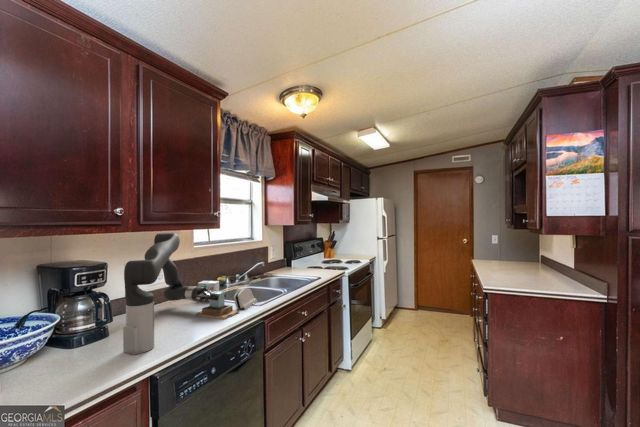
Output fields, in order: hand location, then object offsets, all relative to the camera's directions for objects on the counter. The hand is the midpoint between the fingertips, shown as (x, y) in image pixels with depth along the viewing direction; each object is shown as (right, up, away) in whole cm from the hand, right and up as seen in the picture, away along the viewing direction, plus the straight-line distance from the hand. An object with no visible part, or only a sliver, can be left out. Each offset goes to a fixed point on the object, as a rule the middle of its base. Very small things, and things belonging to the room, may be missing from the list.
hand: (221, 296), depth 156 cm
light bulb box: (-17, -10, +29) cm, 35 cm away
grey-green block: (-2, -8, +1) cm, 8 cm away
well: (-2, -9, +1) cm, 9 cm away
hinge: (+8, -10, +16) cm, 21 cm away
